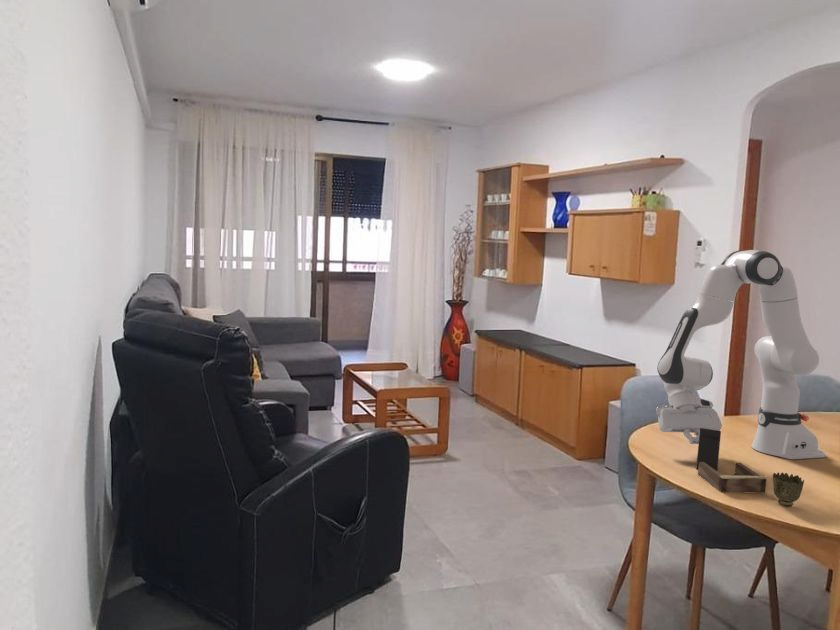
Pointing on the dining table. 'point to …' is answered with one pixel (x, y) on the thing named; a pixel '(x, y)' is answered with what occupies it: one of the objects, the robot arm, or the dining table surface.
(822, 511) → the dining table surface
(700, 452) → the phone stand
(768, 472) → the dining table surface
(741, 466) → the frame
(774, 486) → the cup
